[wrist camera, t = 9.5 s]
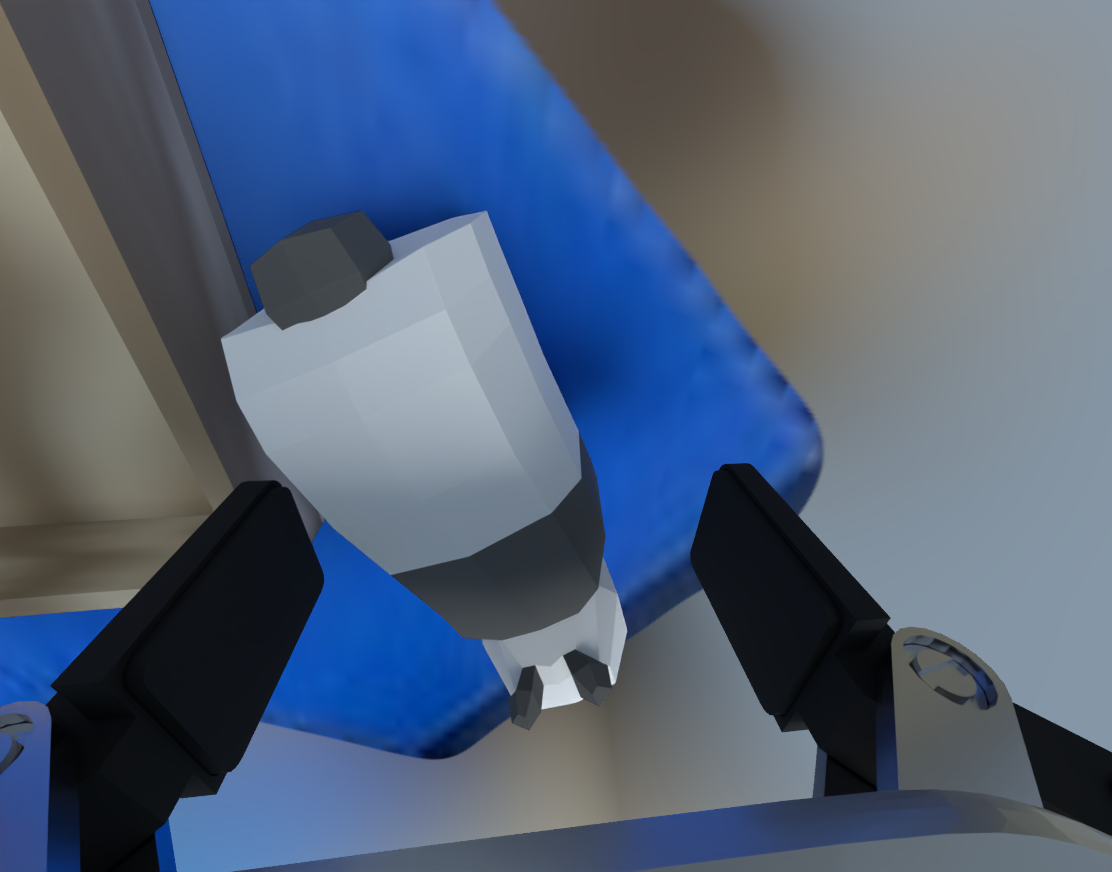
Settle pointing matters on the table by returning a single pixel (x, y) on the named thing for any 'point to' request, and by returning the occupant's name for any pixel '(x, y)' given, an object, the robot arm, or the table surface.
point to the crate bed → (109, 313)
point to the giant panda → (436, 440)
